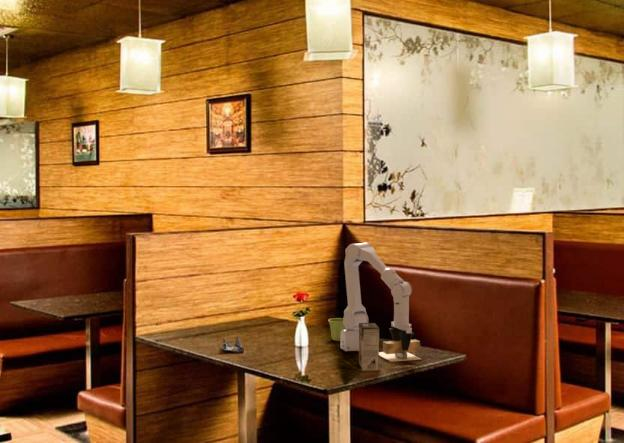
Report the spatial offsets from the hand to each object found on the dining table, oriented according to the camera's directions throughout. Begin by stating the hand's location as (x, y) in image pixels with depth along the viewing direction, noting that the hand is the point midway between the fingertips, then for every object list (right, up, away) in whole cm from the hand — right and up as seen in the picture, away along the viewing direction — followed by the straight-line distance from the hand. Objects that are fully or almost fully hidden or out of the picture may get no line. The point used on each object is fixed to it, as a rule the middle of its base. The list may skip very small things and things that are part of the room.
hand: (401, 348), depth 313 cm
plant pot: (-23, -2, +37) cm, 43 cm away
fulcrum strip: (0, -4, 0) cm, 4 cm away
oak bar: (0, -1, 0) cm, 1 cm away
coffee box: (-13, -5, -13) cm, 19 cm away
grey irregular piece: (-67, -4, +15) cm, 69 cm away
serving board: (-1, -4, +3) cm, 5 cm away
